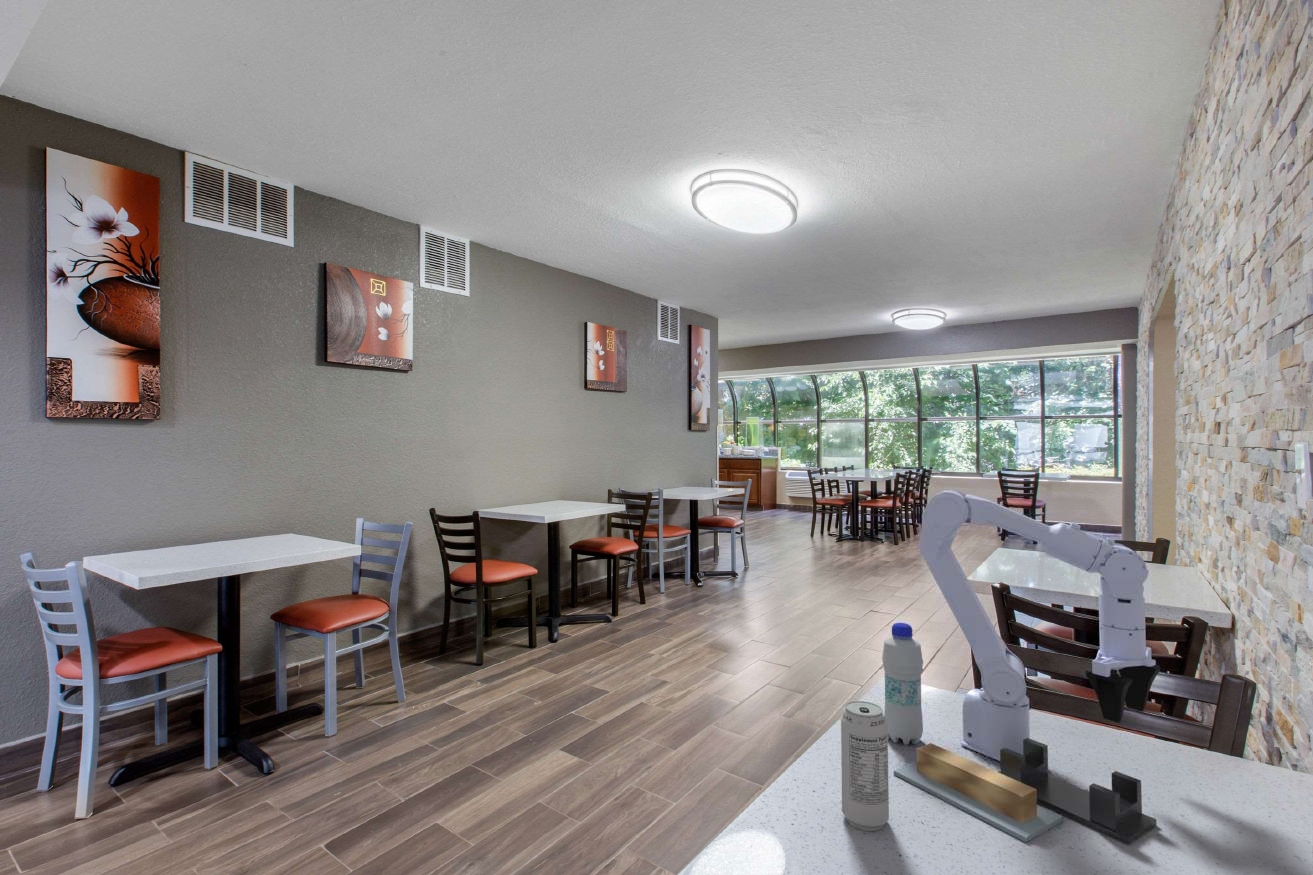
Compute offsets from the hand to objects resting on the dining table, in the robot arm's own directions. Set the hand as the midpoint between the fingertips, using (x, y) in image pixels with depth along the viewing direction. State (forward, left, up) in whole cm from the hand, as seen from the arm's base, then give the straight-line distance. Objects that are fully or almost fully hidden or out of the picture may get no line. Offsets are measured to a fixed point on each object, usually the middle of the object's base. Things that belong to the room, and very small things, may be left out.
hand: (1124, 714), depth 96 cm
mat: (-9, -25, -9) cm, 28 cm away
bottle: (-26, -18, -10) cm, 33 cm away
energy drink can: (-13, -43, -10) cm, 46 cm away
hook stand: (-1, -15, -9) cm, 18 cm away
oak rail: (-9, -25, -9) cm, 28 cm away
